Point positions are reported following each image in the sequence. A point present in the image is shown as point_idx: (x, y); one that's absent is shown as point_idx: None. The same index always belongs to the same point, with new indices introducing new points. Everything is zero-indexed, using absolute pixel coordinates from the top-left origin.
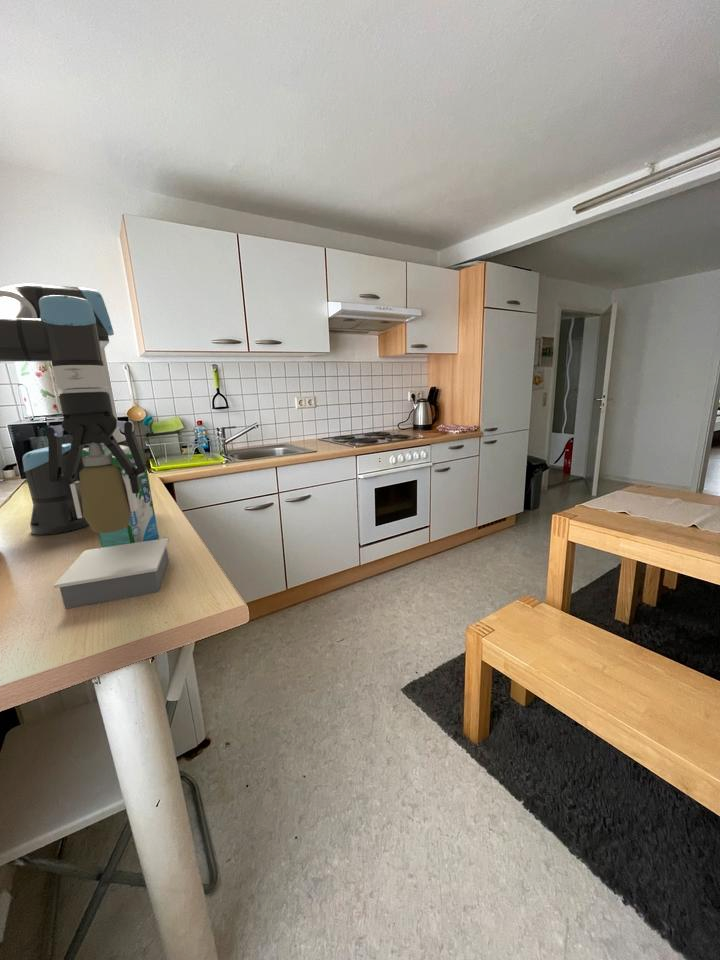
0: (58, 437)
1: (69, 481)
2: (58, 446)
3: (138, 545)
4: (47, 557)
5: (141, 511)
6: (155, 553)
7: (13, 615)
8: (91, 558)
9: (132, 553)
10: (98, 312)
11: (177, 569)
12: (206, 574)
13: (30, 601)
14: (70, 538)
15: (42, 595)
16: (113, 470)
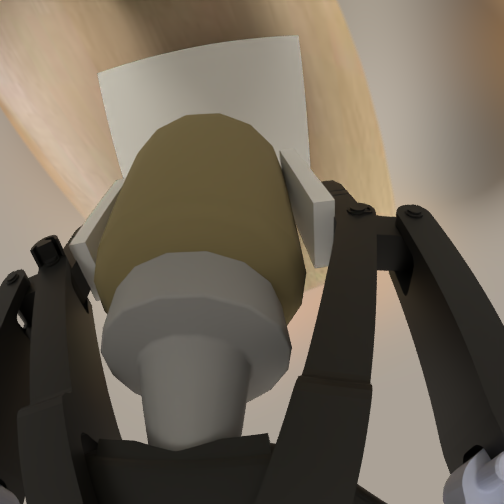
0: (11, 492)
1: (91, 307)
2: (10, 439)
3: (230, 65)
4: (2, 8)
5: None
6: (293, 135)
7: (88, 215)
8: (142, 127)
9: (234, 118)
10: None
11: (312, 102)
12: (368, 146)
13: (80, 177)
14: None
15: (85, 159)
16: (289, 321)
